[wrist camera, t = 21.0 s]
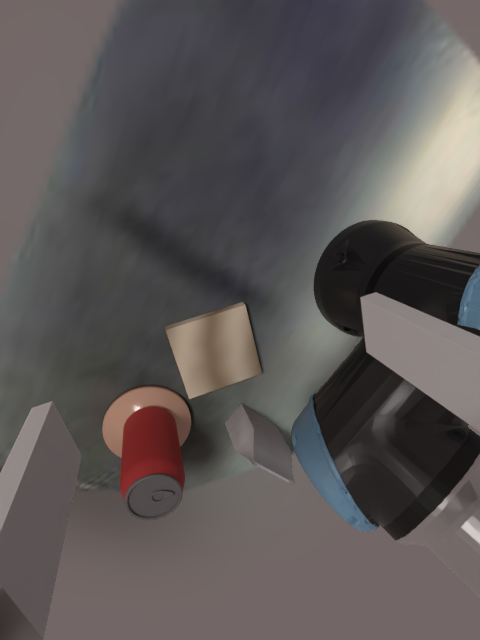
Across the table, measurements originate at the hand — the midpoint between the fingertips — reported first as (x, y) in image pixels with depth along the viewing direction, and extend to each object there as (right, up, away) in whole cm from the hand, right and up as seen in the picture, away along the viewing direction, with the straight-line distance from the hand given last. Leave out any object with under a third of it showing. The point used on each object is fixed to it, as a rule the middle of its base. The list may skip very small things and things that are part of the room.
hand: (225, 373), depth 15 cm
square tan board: (-3, -2, +31) cm, 32 cm away
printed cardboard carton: (+2, -12, +37) cm, 39 cm away
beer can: (-11, -11, +32) cm, 35 cm away
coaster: (-11, -11, +32) cm, 36 cm away
